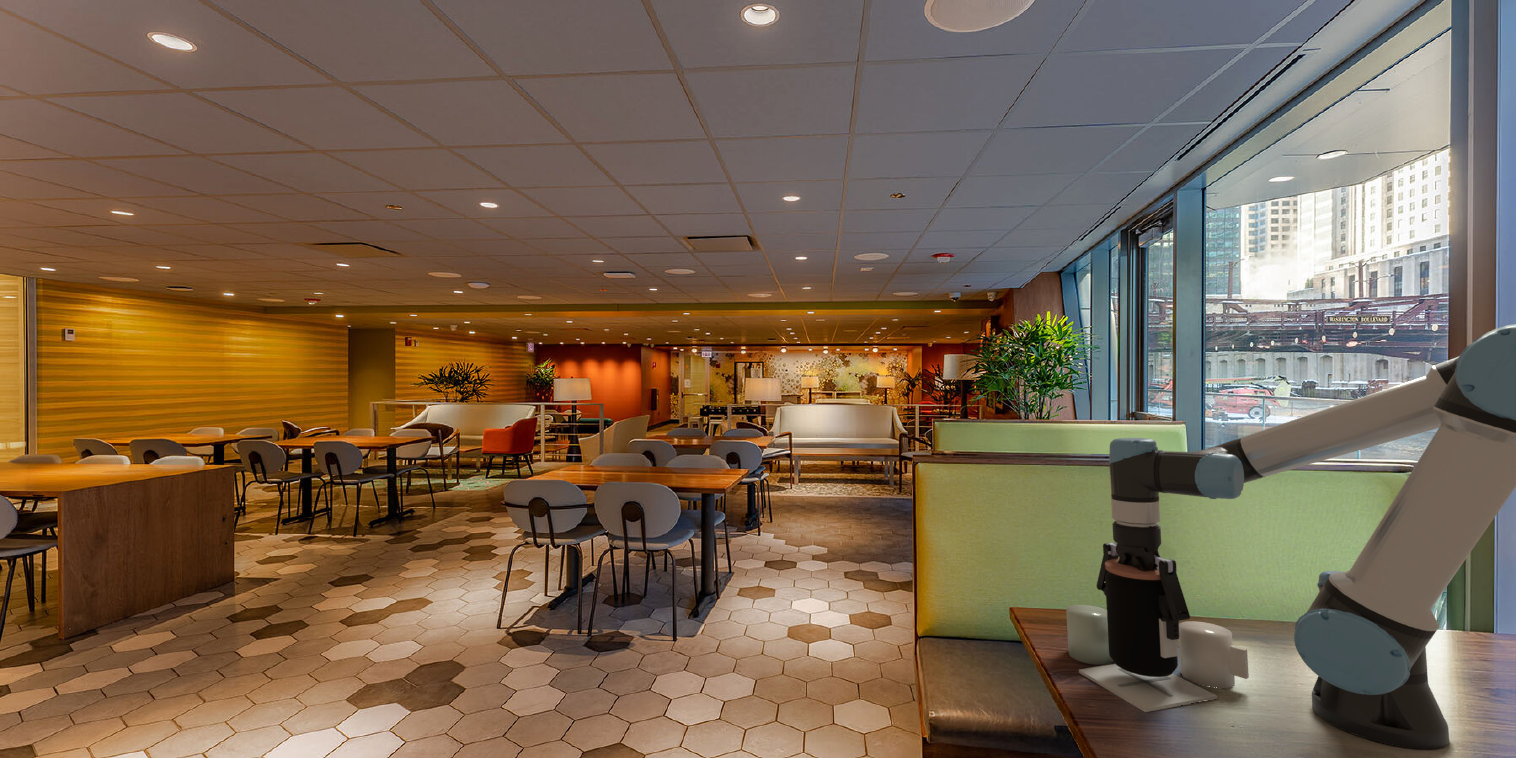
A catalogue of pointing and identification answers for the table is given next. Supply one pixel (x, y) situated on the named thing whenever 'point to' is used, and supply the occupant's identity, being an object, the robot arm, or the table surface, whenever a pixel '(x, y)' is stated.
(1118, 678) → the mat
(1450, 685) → the table surface
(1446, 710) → the table surface
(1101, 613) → the mug sage
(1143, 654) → the coffee jar
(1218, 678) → the mug cream
